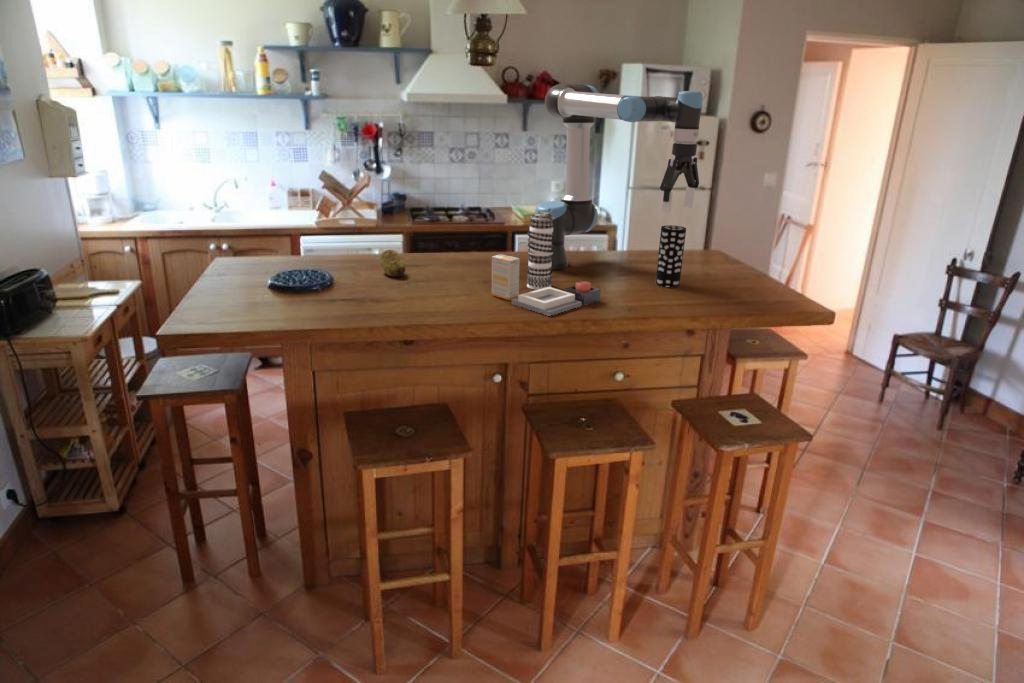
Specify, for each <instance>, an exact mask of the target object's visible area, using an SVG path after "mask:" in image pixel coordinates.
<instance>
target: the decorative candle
mask: <svg viewBox="0 0 1024 683" xmlns="http://www.w3.org/2000/svg"><path fill="white" fill-rule="evenodd" d="M529 219H530V224H529V228H528V229H527V236H528V237H527V247H528V248H527V253H528V254H529V255H528V258H529V263H527V264H528V265H527V267H526V268H527V271H526V273H527V276H526V279H527V280H526V288H528V289H529V290H533V291H535V290H539V289H543V288H546V287H552V284H553V281H552V279H553V276H552V274H553V271H552V266H551V265H552V261H551V255H552V254H553V251H554V250H553V249H551V248H553V247H554V245H552V242H554V241H555V240H554V239H553V238H552V237H555V235H554V234H553V233H552V232H553V219H554V217H552V215H551V214H550V213H548V212H535V211H534V212H533V213H532V215H531V216H529Z"/></svg>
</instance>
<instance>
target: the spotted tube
mask: <svg viewBox="0 0 1024 683" xmlns="http://www.w3.org/2000/svg"><path fill="white" fill-rule="evenodd" d="M686 232H687V228H686V227H684V226H680V225H671V224H670V225H662V226H660V236H659V246H658V253H657V254H658V255H657V264H656V273H655V275H656V276H655V285H656V284H657V285H656V286H658V287H660V286H662V288H666V287H672V288H671V289H674V288H673V287H675V288H678V286H679V287H680V285H681V277H682V276H681V275H682V267H683V260H684V259H683V258H684V250H685V243H686V242H685V241H686V240H685V239H686V234H687V233H686Z"/></svg>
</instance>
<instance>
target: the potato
mask: <svg viewBox="0 0 1024 683" xmlns="http://www.w3.org/2000/svg"><path fill="white" fill-rule="evenodd" d="M380 266H381V267H382V268H383V270H384V273H385V274H386V275H388V276H389V277H394V278H395V277H396V278H400V277H401V276H403V275H404V274H405V273H406V266H405V263H404V259H403V257H402V255H400V254H399V253H398V252H397V250H393V249H388V250H385V251H383V252H382V253H381V254H380Z"/></svg>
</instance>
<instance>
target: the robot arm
mask: <svg viewBox="0 0 1024 683" xmlns="http://www.w3.org/2000/svg"><path fill="white" fill-rule="evenodd" d="M703 98H704V97H703V92H701V91H695V90H693V91H690V90H680V91H679V92H678V96H676V97H673V96H662V95H661V96H660V95H654V96H643V95H642V96H641V95H639V96H638V95H624V94H612V93H611V94H610V93H600V92H599V91H598V90H597V88H596V87H594V86H592V85H589V84H584V83H583V84H582V83H581V84H576V83H575V84H572V83H571V84H570V83H569V84H568V83H559V84H556V85H554V86H552V87H550V88H549V90H548V91H547V92H546V95H545V98H544V106H545V109H546V111H547V113H548V114H549V115H550V116H552V117H554V118H555V119H562V125H563V126H564V127H565V128H566V156H565V157H566V158H565V159H566V160H565V162H566V163H565V194H564V195H563V196H562V197H561V201H559V200H552V201H545V202H541V203H538V204H537V205H536V207H535V209H534V213H535V212H548V213H550V214H551V215H552V217H554V219H553V232H552V233H553V234H554V235H555V237H552V238H553V239H554V240H555V241H554V242H552V245H554V247H553V248H551V249H553V250H554V251H553V254H552V255H551V261H552V265H551V266H552V270H554V271H555V270H561V269H565V268H567V267H568V265H569V259H568V257H567V253H566V247H565V236H571V235H577V234H579V235H580V234H584V233H588V232H590V231H591V230H592V229H593V228H594V227H595V226H596V224H597V221H598V218H599V214H598V209H597V208H596V205H595V204H594V203H593V198H592V197H591V196H590V194H589V181H590V179H589V174H590V147H591V146H590V145H591V128H592V127H593V126H594V125H595V118H600V119H610V120H620V121H623V122H627V123H637V122H667V123H668V122H669V123H670V122H671V123H674V131H673V132H674V133H673V142H674V143H672V150H671V154H672V155H673V156H675V157H674V158H673V159H671V158H669V159H668V162H667V167H666V170H665V172H664V175H663V178H662V181H661V183H660V185H659V186H660V187H659V189H660V191H662V192H663V196H662V197H663V198H662V208H661V212H664V213H671V210H672V204H673V203H672V202H673V193H674V192H673V191H672V190H673V189H674V186H675V184H676V183H677V181H678V179H679V176H681V175H682V174H683V176H684V177H685V181H686V184H687V187H685V188H686V189H685V195H684V203H683V208H688V209H689V208H690V209H693V206H694V205H693V203H694V196H695V190H696V189H698V188H699V185H700V180H699V179H700V177H699V172H698V170H699V168H698V158H697V157H696V155H697V150H698V149H697V148H698V147H697V146H698V144H697V142H698V140H699V139H698V138H699V135H700V133H699V129H700V123H701V114H702V109H703ZM527 260H528V261H527V262H528V263H529V257H528V258H527ZM528 263H527V264H528ZM552 270H551V271H552Z"/></svg>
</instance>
